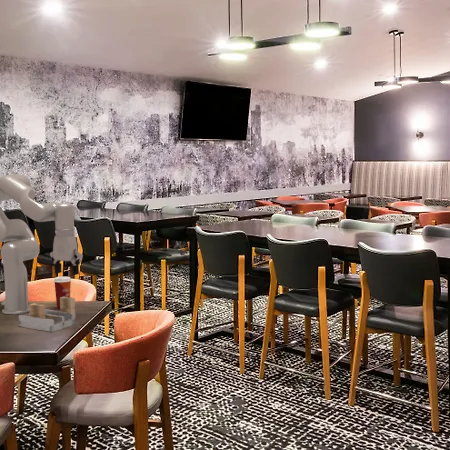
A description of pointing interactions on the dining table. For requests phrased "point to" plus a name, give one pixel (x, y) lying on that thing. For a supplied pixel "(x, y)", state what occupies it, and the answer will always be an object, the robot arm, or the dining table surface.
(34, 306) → the oak board
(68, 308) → the beech board
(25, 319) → the rack
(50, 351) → the dining table surface
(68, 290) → the paper cup
